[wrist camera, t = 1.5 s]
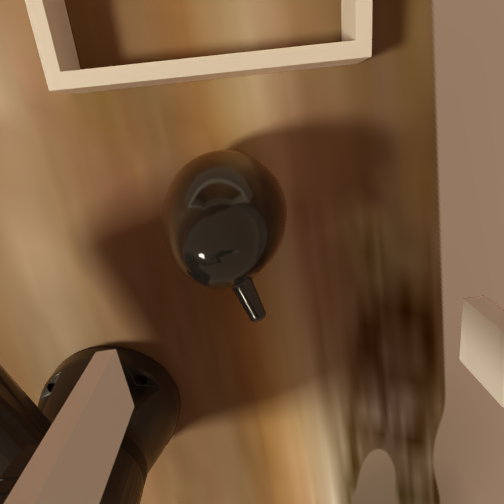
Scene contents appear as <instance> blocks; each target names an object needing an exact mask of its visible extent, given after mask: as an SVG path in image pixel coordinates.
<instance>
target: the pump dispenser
mask: <svg viewBox="0 0 504 504" xmlns="http://www.w3.org/2000/svg"><path fill="white" fill-rule="evenodd" d="M286 218H287V208H286V201H285V196H284V193H283V190H282V188H281V185H280V183H279V181H278V180H277V178H276V177H275V175H274V174H273V173H272V171H271V170H270V169H269V168H268V167H267V166H266V165H264V164H263V163H262V162H261V161H259V160H258V159H256V158H254V157H252V156H250V155H248V154H245V153H242V152H238V151H231V150H220V151H213V152H209V153H206V154H203V155H201V156H198V157H197V158H195V159H193V160H192V161H190V162H189V163H187V164H186V165H185V166H184V167H183V168H182V169H181V170H180V171H179V172H178V174H177V175H176V176H175V178H174V179H173V181H172V183H171V184H170V187H169V189H168V192H167V195H166V198H165V202H164V207H163V231H164V236H165V241H166V244H167V247H168V250H169V253H170V255H171V257H172V259H173V261H174V263H175V264H176V266H177V267H178V268H179V270H180V271H181V272H182V273H183V274H184V275H185V276H186V277H187V278H188V279H190V280H191V281H193V282H194V283H196V284H198V285H200V286H203V287H205V288H209V289H214V290H227V289H231V288H232V289H233V291H234V292H235V294H236V296H237V297H238V299H239V301H240V302H241V304H242V306H243V308H244V309H245V311H246V313H247V314H248V316H249V318H250V319H251V321H253V322H258V321H260V320H262V319H263V318H264V317H265V315H266V312H265V310H264V307H263V305H262V303H261V300H260V298H259V295H258V293H257V290H256V288H255V285H254V283H253V279H255V278H256V277H257V276H259V275H260V274H261V273H262V272H263V271H264V270H265V269H266V268H267V267H268V266H269V264H270V263H271V262H272V260H273V259H274V257H275V256H276V254H277V252H278V250H279V248H280V246H281V243H282V240H283V237H284V233H285V227H286Z"/></svg>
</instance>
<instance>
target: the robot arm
mask: <svg viewBox="0 0 504 504" xmlns="http://www.w3.org/2000/svg"><path fill="white" fill-rule="evenodd" d="M459 360H460V361H461V362H462V363H463V364H464V365H465V367H466V368H467V369H468V370H469V371H470V372H471V373H472V374H473V375H474V376H475V377H476V379H477V380H478V381H479V382H480V383H481V384H482V385H483V386H484V387H485V388H486V389H487V390H488V392H489V393H490V394H491V395H492V396H493V397H494V398H495V399H496V400H497V401H498V402H499V403H500V404H501V406H502V407H503V408H504V310H503V309H502V308H500V307H499V306H498V305H496V304H495V303H493V302H492V301H491V300H489V299H488V298H487V297H485V296H477V297H470V298H464V299H463V309H462V325H461V341H460V357H459ZM179 411H180V397H179V393H178V390H177V387H176V385H175V383H174V381H173V379H172V378H171V376H170V375H169V374H168V373H167V372H166V370H165V369H164V368H162V367H161V366H160V365H159V364H158V363H156V362H155V361H154V360H152V359H150V358H149V357H147V356H145V355H143V354H140V353H138V352H135V351H132V350H129V349H124V348H118V347H96V348H91V349H87V350H83V351H80V352H78V353H76V354H74V355H72V356H70V357H69V358H67V359H66V360H65V361H63V362H62V363H61V364H60V365H59V366H58V368H57V369H56V370H55V372H54V373H53V374H52V376H51V377H50V378H49V380H48V381H47V383H46V384H45V386H44V388H43V390H42V393H41V396H40V400H39V404H38V407H37V406H36V405H35V403H34V402H33V401H32V400H31V399H30V398H29V397H28V396H27V395H26V393H25V392H24V391H23V390H22V389H21V388H20V387H19V386H18V384H17V383H16V382H15V381H14V380H13V379H12V377H11V376H10V375H9V374H8V373H7V372H6V370H5V369H4V368H3V367H2V366H1V365H0V504H140V501H141V497H142V493H143V488H144V484H145V481H146V477H147V474H148V472H149V471H150V469H151V468H152V466H153V465H154V463H155V462H156V460H157V459H158V457H159V456H160V454H161V453H162V451H163V449H164V448H165V446H166V445H167V444H168V442H169V441H170V439H171V437H172V435H173V433H174V431H175V428H176V424H177V420H178V415H179Z"/></svg>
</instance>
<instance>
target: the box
mask: <svg viewBox="0 0 504 504" xmlns="http://www.w3.org/2000/svg"><path fill="white" fill-rule="evenodd" d="M25 3H26V7H27V10H28V14H29V18H30V22H31V25H32V29H33V33H34V37H35V40H36V44H37V48H38V51H39V55H40V59H41V63H42V66H43V70H44V74H45V78H46V81H47V85H48V89H49V91H53V92H61V93H68V94H77V93H87V92H96V91H106V90H115V89H124V88H134V87H143V86H153V85H162V84H172V83H181V82H190V81H200V80H209V79H219V78H228V77H237V76H247V75H256V74H266V73H275V72H285V71H294V70H303V69H313V68H322V67H332V66H341V65H350V64H357V63H359V62H361V61H363V60H366V59H368V58H370V57H372V0H341V21H342V42H334V43H325V44H315V45H306V46H297V47H287V48H278V49H269V50H259V51H250V52H241V53H231V54H222V55H213V56H203V57H194V58H185V59H175V60H166V61H157V62H147V63H138V64H129V65H119V66H110V67H101V68H91V69H82V70H81V69H80V65H79V60H78V56H77V52H76V48H75V43H74V39H73V35H72V31H71V26H70V22H69V18H68V14H67V10H66V5H65V1H64V0H25Z"/></svg>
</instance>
